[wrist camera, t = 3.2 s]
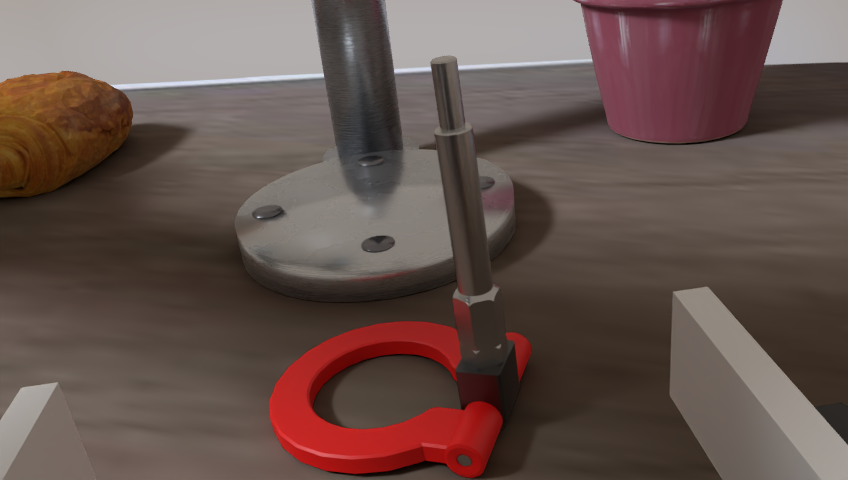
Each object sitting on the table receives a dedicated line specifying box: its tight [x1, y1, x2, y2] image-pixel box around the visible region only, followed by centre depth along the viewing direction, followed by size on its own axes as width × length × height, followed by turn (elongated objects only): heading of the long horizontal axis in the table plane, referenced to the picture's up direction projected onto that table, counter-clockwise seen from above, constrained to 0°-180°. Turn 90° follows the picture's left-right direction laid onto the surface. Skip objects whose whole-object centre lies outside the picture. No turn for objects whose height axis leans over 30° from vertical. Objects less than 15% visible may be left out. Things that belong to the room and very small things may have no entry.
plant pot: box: [574, 0, 783, 143], centre depth 50 cm, size 14×14×13 cm
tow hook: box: [270, 56, 532, 478], centre depth 26 cm, size 8×13×9 cm
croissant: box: [0, 71, 133, 198], centre depth 59 cm, size 14×16×8 cm
